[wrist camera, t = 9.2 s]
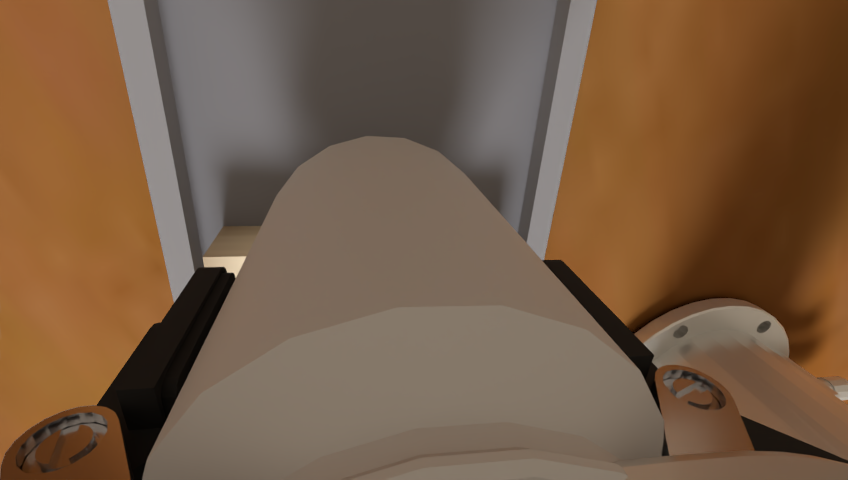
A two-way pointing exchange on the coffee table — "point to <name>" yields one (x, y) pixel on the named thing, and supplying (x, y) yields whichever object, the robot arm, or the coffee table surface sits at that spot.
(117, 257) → the coffee table surface
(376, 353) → the can
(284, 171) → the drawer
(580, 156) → the coffee table surface
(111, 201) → the coffee table surface
